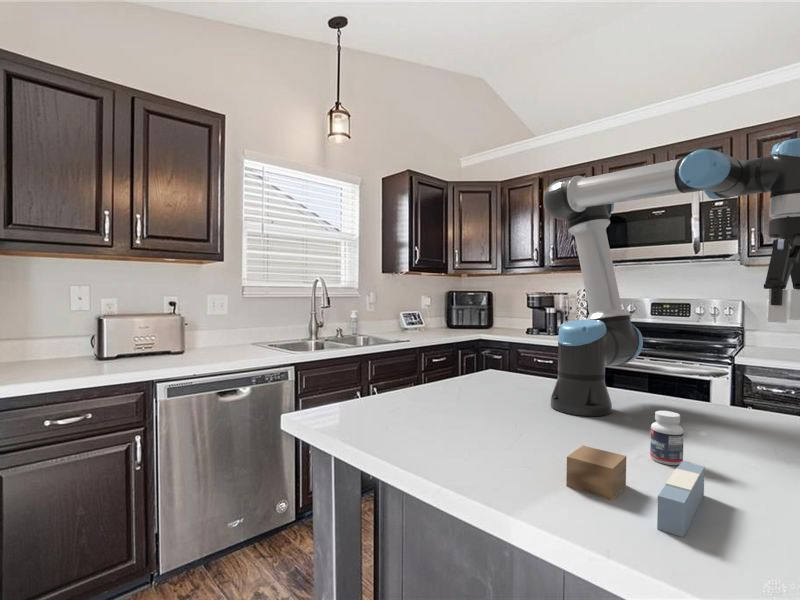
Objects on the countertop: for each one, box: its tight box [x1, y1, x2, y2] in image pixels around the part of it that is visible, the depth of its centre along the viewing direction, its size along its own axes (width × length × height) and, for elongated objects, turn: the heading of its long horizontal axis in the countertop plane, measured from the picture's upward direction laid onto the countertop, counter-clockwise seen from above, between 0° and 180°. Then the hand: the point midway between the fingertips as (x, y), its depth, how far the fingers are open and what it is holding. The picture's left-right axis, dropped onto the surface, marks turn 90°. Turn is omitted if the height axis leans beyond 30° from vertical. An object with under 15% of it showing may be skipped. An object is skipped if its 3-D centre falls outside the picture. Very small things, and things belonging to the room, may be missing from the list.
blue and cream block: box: [656, 460, 705, 538], centre depth 64 cm, size 3×16×5 cm, turn 138°
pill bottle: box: [649, 410, 685, 466], centre depth 82 cm, size 5×5×9 cm
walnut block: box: [565, 445, 627, 501], centre depth 72 cm, size 7×7×5 cm
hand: (788, 321), depth 91 cm, fingers open, 13 cm apart
